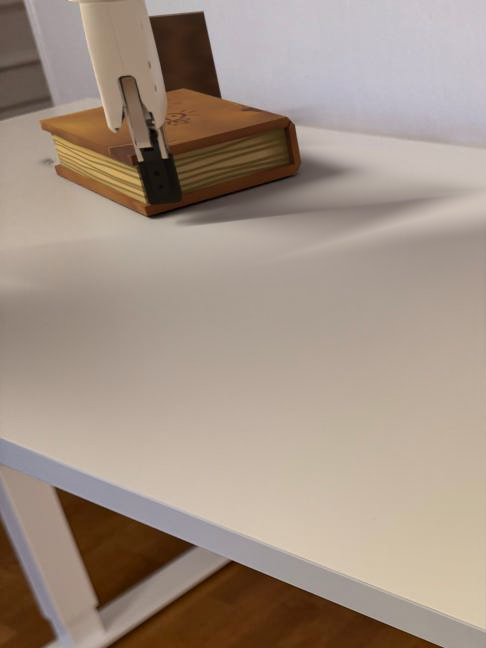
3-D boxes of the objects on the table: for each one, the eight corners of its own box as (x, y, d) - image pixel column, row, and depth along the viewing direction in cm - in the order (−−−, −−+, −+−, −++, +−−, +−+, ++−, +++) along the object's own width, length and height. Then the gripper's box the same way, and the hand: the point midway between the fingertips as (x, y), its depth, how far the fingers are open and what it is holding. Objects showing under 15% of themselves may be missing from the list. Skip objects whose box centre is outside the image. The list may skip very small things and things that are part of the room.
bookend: (115, 134, 120) (84, 23, 112) (118, 126, 123) (87, 18, 115) (226, 122, 121) (203, 12, 113) (226, 115, 124) (203, 7, 116)
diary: (303, 173, 103) (293, 115, 99) (147, 218, 94) (130, 156, 91) (201, 137, 116) (189, 84, 112) (56, 174, 108) (38, 118, 104)
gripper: (72, -33, 85) (133, 183, 97) (48, -8, 74) (121, 231, 87) (156, -40, 86) (206, 174, 98) (145, -17, 75) (203, 221, 87)
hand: (166, 200), depth 92 cm, fingers closed
